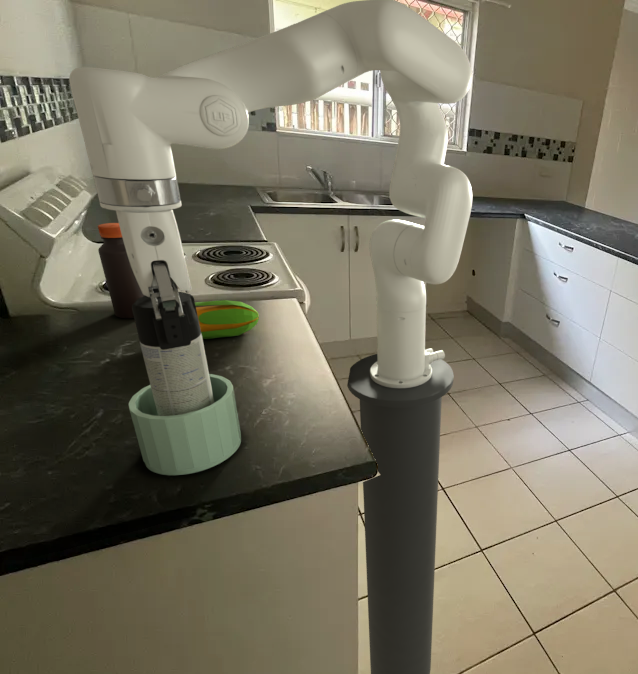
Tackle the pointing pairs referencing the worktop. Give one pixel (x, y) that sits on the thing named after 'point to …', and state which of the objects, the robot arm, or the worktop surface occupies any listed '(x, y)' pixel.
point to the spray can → (174, 362)
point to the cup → (187, 432)
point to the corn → (225, 318)
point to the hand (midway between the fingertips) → (170, 334)
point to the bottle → (118, 271)
